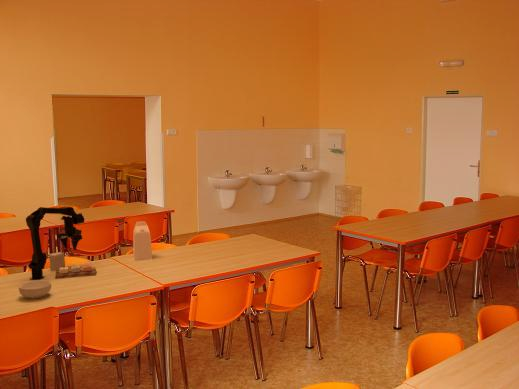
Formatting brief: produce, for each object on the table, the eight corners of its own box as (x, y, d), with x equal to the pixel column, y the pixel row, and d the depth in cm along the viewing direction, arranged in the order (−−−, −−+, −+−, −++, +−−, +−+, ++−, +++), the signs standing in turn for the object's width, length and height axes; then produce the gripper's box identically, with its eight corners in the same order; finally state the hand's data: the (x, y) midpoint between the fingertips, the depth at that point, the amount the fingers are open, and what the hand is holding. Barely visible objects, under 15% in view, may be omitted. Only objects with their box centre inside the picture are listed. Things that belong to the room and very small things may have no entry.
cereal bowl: (12, 299, 302) (11, 287, 301) (34, 290, 317) (33, 278, 316) (37, 302, 296) (36, 289, 295) (58, 293, 311) (57, 281, 310)
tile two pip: (71, 272, 345) (71, 268, 344) (71, 270, 350) (71, 266, 349) (79, 271, 346) (79, 267, 346) (80, 269, 351) (79, 265, 351)
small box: (61, 267, 368) (59, 251, 367) (65, 268, 365) (64, 253, 363) (49, 269, 362) (48, 254, 361) (54, 271, 358) (53, 255, 357)
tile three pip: (83, 271, 347) (82, 267, 346) (83, 269, 351) (83, 265, 351) (91, 270, 348) (91, 266, 348) (91, 268, 353) (91, 264, 352)
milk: (150, 255, 396) (148, 219, 392) (152, 259, 385) (150, 222, 381) (133, 256, 392) (131, 221, 388) (135, 260, 381) (133, 223, 378)
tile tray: (55, 278, 340) (55, 275, 340) (56, 274, 350) (56, 271, 350) (95, 275, 347) (95, 272, 346) (96, 271, 356) (95, 268, 356)
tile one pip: (59, 273, 343) (59, 269, 343) (60, 271, 348) (59, 267, 347) (68, 272, 344) (67, 268, 344) (68, 270, 349) (68, 266, 349)
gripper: (88, 225, 360) (89, 248, 362) (70, 222, 370) (71, 245, 372) (74, 227, 351) (75, 251, 353) (56, 225, 361) (57, 248, 363)
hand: (70, 249), depth 360 cm, fingers open, 9 cm apart
